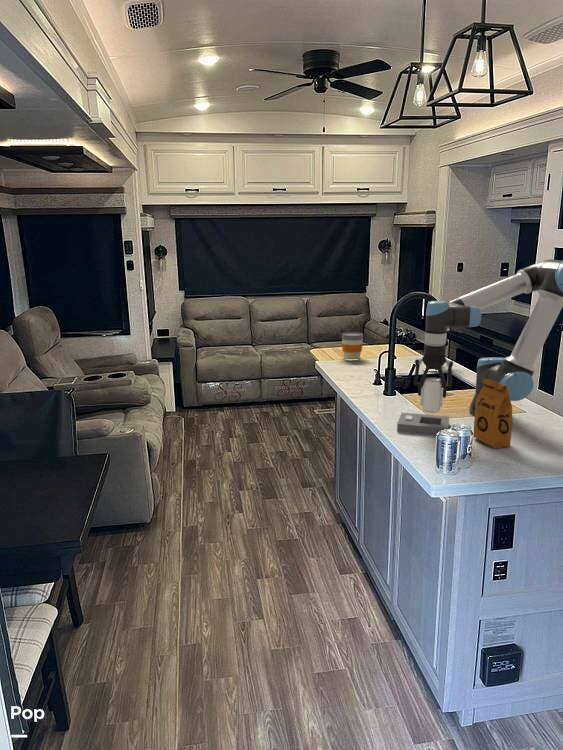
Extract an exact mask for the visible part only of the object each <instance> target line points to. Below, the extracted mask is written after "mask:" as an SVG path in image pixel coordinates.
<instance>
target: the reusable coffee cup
mask: <svg viewBox="0 0 563 750" xmlns="http://www.w3.org/2000/svg"><path fill="white" fill-rule="evenodd" d="M363 340H364V333H362V332H357V331H349V332H347V331H346V332H342V333H341V347H342V352H343V359H344V360H345V359H360V358H361V353H362V351H363V342H364V341H363ZM360 360H361V359H360Z"/></svg>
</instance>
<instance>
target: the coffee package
mask: <svg viewBox="0 0 563 750" xmlns="http://www.w3.org/2000/svg"><path fill="white" fill-rule="evenodd" d="M483 383H484V385H483V387H482V389H481V391H480V393H479V395H478V397H477V399H476V404H475V416H474V421H473V433H472V434H473V435H472V436H473V438H474V439H477V440H478V441H480V442H482V443H483V444H485V445H486V446H490V447H492V448H493V449H501V448H500V447H502V448H509V447H511V441H512V440H511V439H512V430H513V406H512V401H511V400H510V397H509V393H508V390H507V386H505V385H503V384H500V383H499V382H495V381H492V380H489V379H486V378H485V379H484V380H483ZM508 446H509V447H508ZM498 447H499V448H498Z"/></svg>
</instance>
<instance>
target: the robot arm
mask: <svg viewBox="0 0 563 750" xmlns="http://www.w3.org/2000/svg"><path fill="white" fill-rule="evenodd" d="M533 292H537V293H538V295H539V297H538V299H537V301H536V303H535V305H534V307H533V309H532V312H531V313H530V315H529V318H528V320H527V321H526V323H525V326H524V327H523V329H522V331H521V334H520V335H519V337H518V339H517V341H516V343H515V346H514V348H513V349H512V351H511V354H510V355H509V356H507V357H497V356H496V357H495V356H494V357H481V358H479V359H478V361H477V366H476V379H475V392H474V394H473V398H472V400H471V402H470V405H469V409H468V412H469V414H471V415H473V416H474V417H475V404H476V399H477V397H478V395H479V393H480V391H481V389H482V387H483V385H484V383H483V380H484V379H485V378H486V379H489V380H492V381H495V382H499V383H500V384H503V385H505V386H507V390H508V393H509V397H510V400H511V402H519V401H522V400H524V399H526V398H528V396H530V395H531V393H532V391H533V390H534V386H535V385H534V383H535V382H534V379H533V376H534V374H535V369H534V368H535V367H534V363H535V361H536V359H537V358H538V356H539V354H540V352H541V350H542V347H544V344H545V342H546V341H547V338H548V337H549V334H550V332H551V330H552V329H553V326H554V325H555V323H556V321H557V319H558V317H559V315H560V312H561V310H562V309H563V260H562V259H561V260H560V259H559V260H558V259H545V260H542V261H539V262H536V263H533V264H532V265H529V266H526V267H524V268H521V269H519V270H517V272H516V274H513V275H511V276H509V277H507V278H504V279H502V280H499V281H497V282H494V283H492V284H490V285H487V286H484V287H482V288H479V289H477V290H475V291H472V292H469V293H467V294H465V295H461V296H460V297H457V298H455V299H452V300H431V301H429V302H427V305H426V309H425V310H426V312H425V332H424V348H423V355H424V356H422V358H415V360H414V363H415V370H414V371H415V372H414V376H413V377H414V378H413V386H416V387H417V395H418V396H419V397H420V403H419V404H420V406H422V405H423V389H424V388H423V387H424V382H425V378H427V375H428V373H429V372H428V370H429V369H435V370H438V372H437V373H438V374H439V379H441V383H442V389H441V397H440V408H441V407H443V401H444V399H445V398H446V397H447V389H448V390H449V389H451V388H453V376H452V375H453V369H452V368H453V365H454V360H449V359H447V358H446V349H447V348H446V347H447V345H446V344H447V336H448V334H447V333H448V328H450V329H451V328H473V327H475V328H476V327H478V326H479V325H480V323H481V321H482V312H481V310H484V309H487V308H490V306H493V305H496V304H499V303H501V302H503V301H507V300H509V299H511V298H514V297H516V296H518V295H521V294H526V295H527V294H530V293H533ZM423 362H424V364H425V365H426V368H425V371H423V374H422V375H421V378H420V381H419V373H420V367H421V365H422V363H423ZM445 364H446V366H447V367H448V368H447V381H448V382H446V379H445V376H444V375H445V374H444V373H443V372H444V371H443V368H442V367H443V366H444V365H445ZM443 398H444V399H443Z"/></svg>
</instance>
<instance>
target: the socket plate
mask: <svg viewBox="0 0 563 750" xmlns="http://www.w3.org/2000/svg"><path fill="white" fill-rule="evenodd" d="M397 421H398V422H397V423H396V432H399V431H400V432H399V433H409V432H410V433H411V434H420V435H421V434H422V435H429V436H430V435H431V436H437V435H436V434H437V433H438V432H439V431H441V430H444V429H448V430H449V425H450V416H446V415H434V414H425V413H411V412H401V413H400V415H399V418H398V420H397ZM410 433H409V434H410Z"/></svg>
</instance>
